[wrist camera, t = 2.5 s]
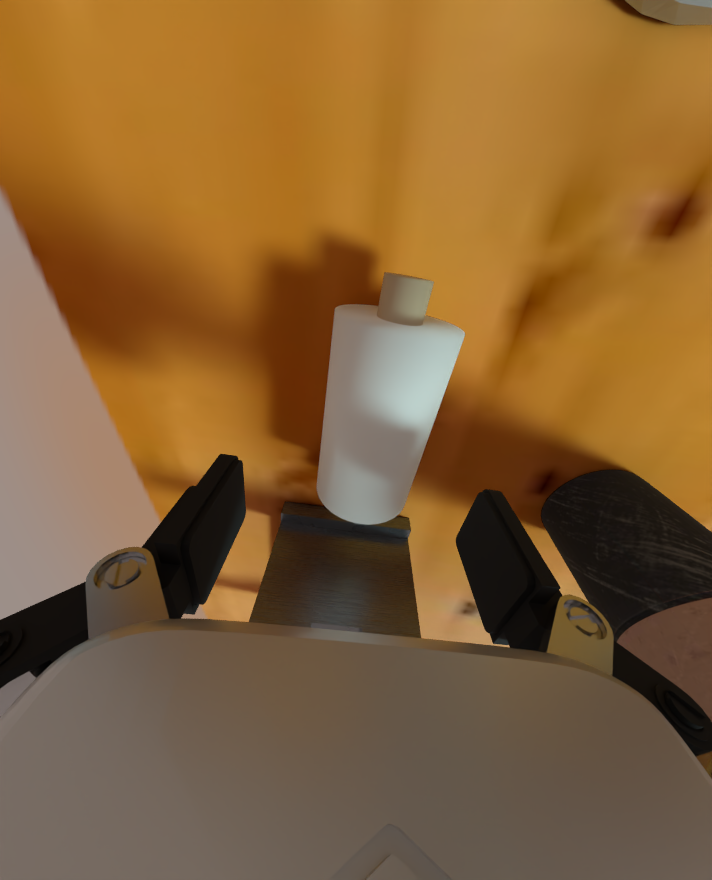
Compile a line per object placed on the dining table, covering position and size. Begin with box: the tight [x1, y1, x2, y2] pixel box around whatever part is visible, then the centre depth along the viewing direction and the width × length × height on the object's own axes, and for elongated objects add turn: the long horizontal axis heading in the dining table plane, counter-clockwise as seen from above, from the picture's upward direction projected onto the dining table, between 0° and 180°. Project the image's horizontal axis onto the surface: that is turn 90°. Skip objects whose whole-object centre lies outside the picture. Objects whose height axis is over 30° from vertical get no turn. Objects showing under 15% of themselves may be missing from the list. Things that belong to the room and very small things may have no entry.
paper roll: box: [317, 272, 465, 525], centre depth 15 cm, size 13×6×6 cm, turn 171°
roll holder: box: [249, 502, 421, 638], centre depth 23 cm, size 16×10×11 cm, turn 171°
